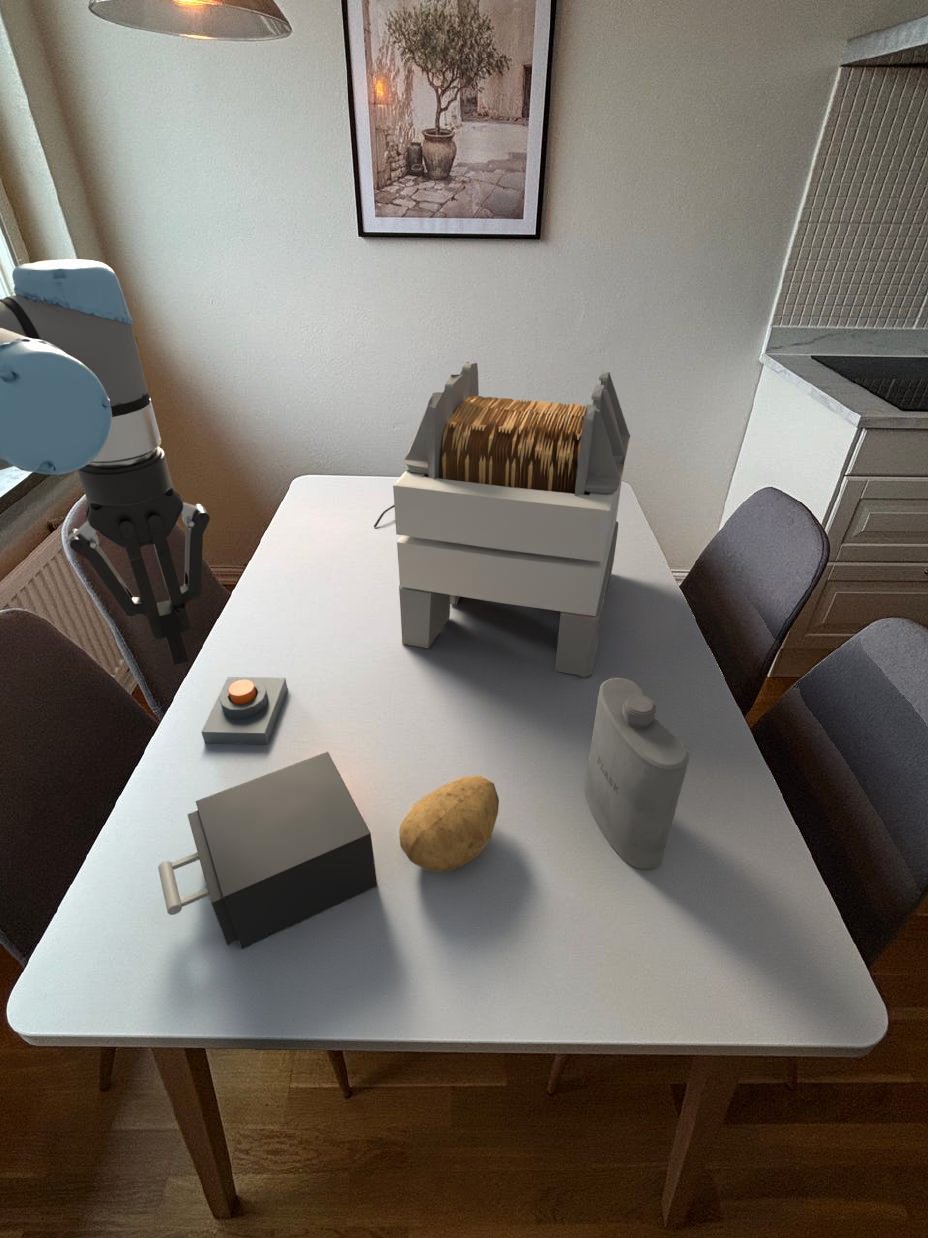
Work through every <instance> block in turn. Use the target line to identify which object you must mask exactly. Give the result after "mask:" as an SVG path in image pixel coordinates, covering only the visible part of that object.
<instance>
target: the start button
mask: <svg viewBox="0 0 928 1238" xmlns="http://www.w3.org/2000/svg"><path fill="white" fill-rule="evenodd" d="M229 695H230V698H231V701H232V702H233V703H235V704H245V703H248V702H251V701H252V700H253V699H254V698H255V697H256V691H255V687H254V684H253V682H252V681H250V680H239V681H236V682H234V683H233V684H231V685H230V687H229Z"/></svg>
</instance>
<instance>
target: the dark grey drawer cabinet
mask: <svg viewBox="0 0 928 1238" xmlns="http://www.w3.org/2000/svg"><path fill="white" fill-rule="evenodd" d="M195 804H196V809H197V810H198V812H199V815H200V819H201V822H202V826H203V829H204V833H205V836H206V840H207V843H208V847H209V850H210V854H211V857H212V861H213V864H214V868H215V871H216V875H217V878H218V881H219V885H220V888H221V892H222V895H223V899H224V901H225V904H226V907H227V910H228V913H229V915H230V918H231V921H232V924H233V927H234V929H235V932H236V935H237V938H238V941H237V942H238V944H239V946H240V949H241V950H245V949H246V948H249V947H250V946H253V945H255V944H257V943H259V942H261V941H263V940H265V939H267V938H269V937H272V936H274V935H277V934H278V933H281V932H283V931H284V930H287V929H289V928H291V927H293V926H295V925H298V924H300V923H302V922H304V921H306V920H309V919H310V918H312V917H314V916H316V915H318V914H321V913H323V912H325V911H327V910H330V909H332V908H333V907H336V906H338V905H340V904H343V903H344V902H346V901H348V900H351V899H353V898H355V897H357V896H359V895H362V894H363V893H366V892H368V891H370V890H373V889H374V888H376V887H378V880H377V870H376V864H375V863H376V862H375V855H374V848H373V841H372V833H371V831H370V829H369V827H368V825H367V823H366V821H365V820H364V817H363V816H362V814H361V812H360V810H359V808H358V806H357V804H356V802H355V800H354V799H353V796H352V795H351V793H350V791H349V789H348V788H347V785H346V783H345V782H344V779H343V778H342V776H341V774H340V772H339V770H338V768H337V766H336V764H335V763H334V760H333V759H332V756H331V755H330V753H329V751H326V752H323V753H320V754H318V755H315V756H312V757H309V758H308V759H305V760H302V761H299V762H296V763H294V764H291V765H288V766H286V767H285V766H284V767H283V768H281V769H278V770H275V771H273V772H269V773H267V774H264V775H262V776H259V777H257V778H253V779H251V780H248V781H245V782H243V783H240V784H237V785H235V786H233V787H229V788H227V789H224V790H222V791H219V792H216V793H214V794H213V793H212V794H210V795H209V796H204V797H202V798H200V799H197V800H195Z"/></svg>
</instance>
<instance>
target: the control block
mask: <svg viewBox="0 0 928 1238" xmlns="http://www.w3.org/2000/svg"><path fill="white" fill-rule="evenodd" d="M239 680H250V681H252V682H253V684H254V687H255V691H256V697H255V698H254V699H253V700H252V701H251V702H248V703H245V704H235V703H233V702H232V701H231V698H230V695H229V687H230V685H231V684H233V683H234V682H236V681H239ZM287 691H288V683H287V678H286V677H252V676H251V677H250V676H227V677H226V680H225V682H224V684H223V686H222V689H221V691H220V692H219V695H218V697H217V698H216V701H215V703H214V705H213V707H212V709H211V711H210V712H209V716H208V717H207V720H206V721H205V724H204V725H203V727H202V729H201V731H200V732H201V735H202V738H203V742H204V744H227V745H228V744H231V745H232V744H233V745H268V743H269V741H270V738H271V735H272V732H273V730H274V727H275V724H276V721H277V719H278V716H279V714H280V710H281V708H282V705H283V702H284V700H285V697H286V694H287Z"/></svg>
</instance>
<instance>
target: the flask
mask: <svg viewBox="0 0 928 1238" xmlns="http://www.w3.org/2000/svg"><path fill="white" fill-rule="evenodd" d="M656 713H657V705H656V702H654V700H653V699H651V698H650V697H648V696H646V695H644V692H643V690H642V688H641V687H640V686H639V685H638V684H637V683H636V682H635V681H633V680H631V679H628V678H623V677H612V678H609V679H606V680H604V681H603V682H602V683H600V686H599V690H598V696H597V703H596V711H595V718H594V723H593V730H592V738H591V745H590V751H589V758H588V763H587V772H586V778H585V783H584V793H585V799H586V801H587V804H588V807H589V810H590V812H591V814H592V817H593V819H594V820H595V822H596V824H597V826H598V828H599V830H600V831H601V833H602V834H603V837H605V839H606V841H607V842H608V843H609V844H610V845H611V847H612V848H613V850H614V851H615V852H616V853H617V854H618V855H619V857H620V858H622V860H624V861H625V862H626V863H628V864H629V865H631V866H632V867H634V868H636V869H637V868H638V869H641V870H650V869H653V868H656V867H658V866H659V865H660V863H661V862H662V861H663V858H664V854H665V851H666V846H667V843H668V839H669V836H670V832H671V827H672V825H673V820H674V816H675V814H676V809H677V806H678V802H679V799H680V795H681V791H682V787H683V783H684V780H685V776H686V773H687V769H688V765H689V762H690V752H689V750H688V748H687V746H686V745H684V744H683V742H681V741H680V740H679V739H678V738H677V737H676V736H674V734H673V733H671V732H670V731H669V730H668V729H667V728H666V727H665V726H664V724H663V723H662V722H661V721H660V720H659V718H658V717H657V715H656Z"/></svg>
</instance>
